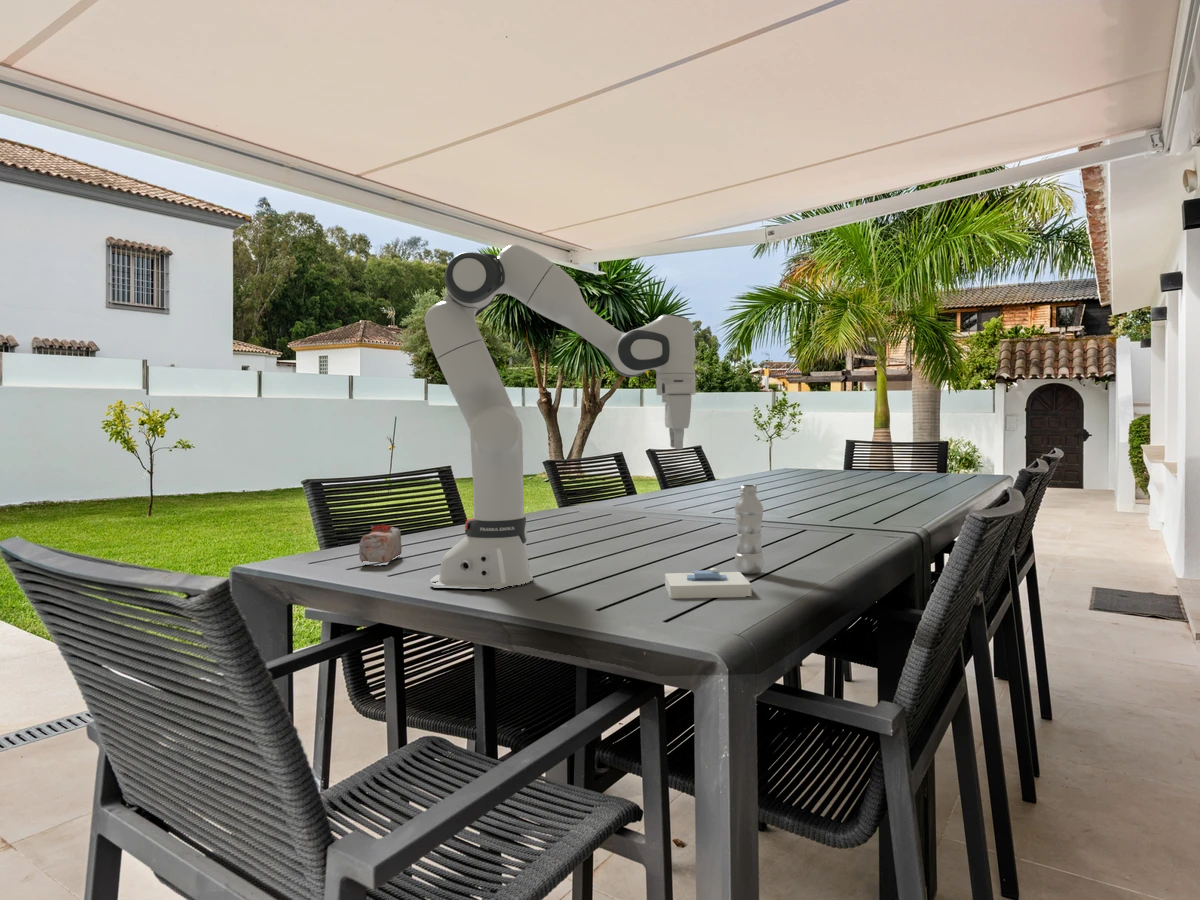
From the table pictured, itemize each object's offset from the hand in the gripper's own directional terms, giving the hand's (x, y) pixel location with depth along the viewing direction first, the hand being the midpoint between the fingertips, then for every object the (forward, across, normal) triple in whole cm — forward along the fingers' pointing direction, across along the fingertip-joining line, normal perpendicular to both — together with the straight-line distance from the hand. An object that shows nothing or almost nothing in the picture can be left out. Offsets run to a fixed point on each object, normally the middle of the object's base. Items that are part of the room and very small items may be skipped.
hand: (676, 448), depth 172 cm
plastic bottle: (+29, +1, +16) cm, 33 cm away
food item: (+29, -21, -74) cm, 83 cm away
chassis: (+29, +18, +4) cm, 34 cm away
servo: (+29, +18, +4) cm, 34 cm away
